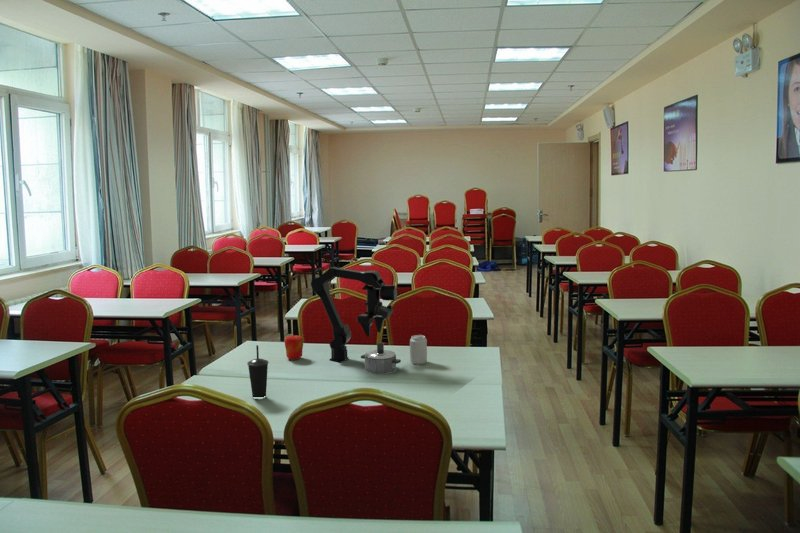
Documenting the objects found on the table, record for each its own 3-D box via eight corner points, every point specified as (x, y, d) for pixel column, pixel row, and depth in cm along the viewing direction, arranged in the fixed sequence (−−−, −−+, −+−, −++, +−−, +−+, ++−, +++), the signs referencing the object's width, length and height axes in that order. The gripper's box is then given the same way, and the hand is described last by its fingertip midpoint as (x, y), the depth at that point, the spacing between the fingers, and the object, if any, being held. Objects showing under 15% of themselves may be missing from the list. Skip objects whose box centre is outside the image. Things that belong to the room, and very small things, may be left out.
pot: (354, 370, 271) (354, 356, 270) (370, 362, 282) (370, 349, 282) (391, 376, 262) (391, 362, 262) (406, 367, 274) (406, 354, 273)
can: (425, 365, 277) (425, 338, 276) (408, 364, 279) (408, 338, 277) (428, 360, 284) (428, 334, 283) (411, 360, 286) (411, 333, 284)
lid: (360, 357, 269) (359, 344, 268) (375, 350, 280) (375, 338, 279) (385, 361, 263) (385, 348, 262) (400, 353, 274) (400, 341, 273)
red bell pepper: (294, 362, 284) (293, 336, 282) (280, 359, 288) (280, 334, 287) (307, 357, 291) (307, 332, 289) (294, 355, 295) (293, 330, 294)
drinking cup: (250, 394, 241) (248, 343, 238) (270, 394, 242) (269, 342, 239) (247, 401, 234) (245, 348, 231) (268, 400, 234) (266, 347, 232)
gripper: (378, 305, 267) (378, 341, 270) (399, 297, 284) (399, 332, 286) (355, 302, 273) (356, 338, 275) (378, 295, 289) (378, 329, 291)
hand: (373, 334), depth 281 cm, fingers open, 9 cm apart
